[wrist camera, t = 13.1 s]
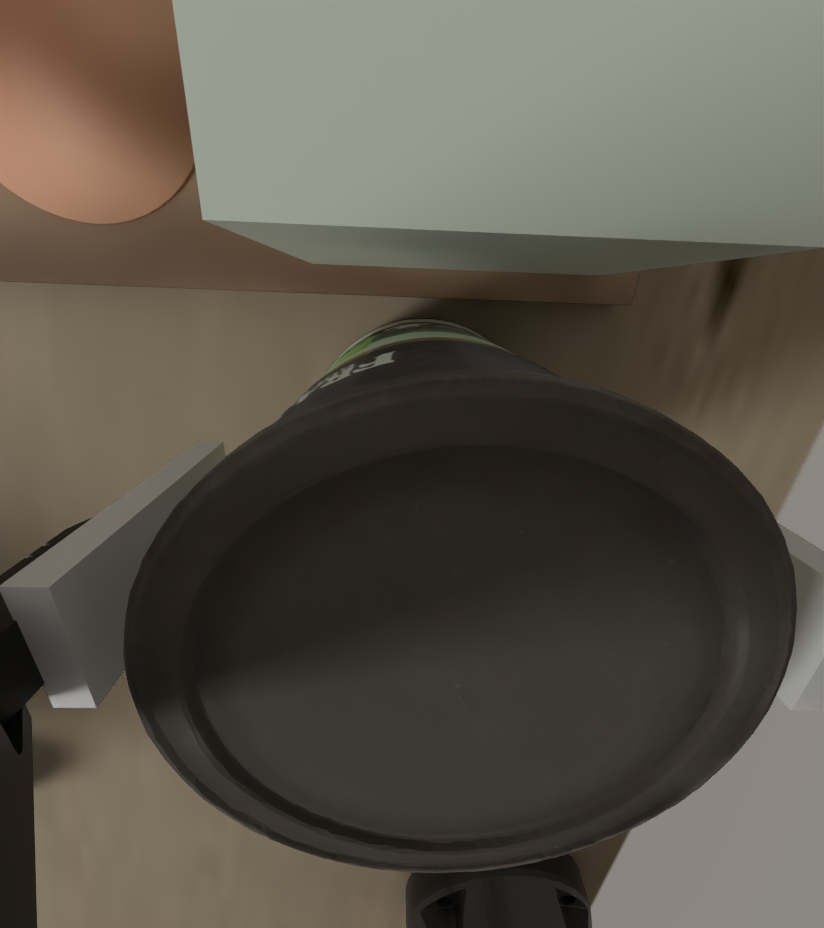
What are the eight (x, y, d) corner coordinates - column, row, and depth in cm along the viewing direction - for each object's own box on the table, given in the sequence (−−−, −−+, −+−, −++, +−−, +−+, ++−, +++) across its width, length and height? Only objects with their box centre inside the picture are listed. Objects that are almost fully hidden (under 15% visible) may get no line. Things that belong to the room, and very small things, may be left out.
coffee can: (272, 452, 20) (13, 758, 7) (400, 265, 17) (395, 139, 4) (437, 558, 22) (488, 930, 9) (573, 412, 19) (941, 653, 6)
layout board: (613, 304, 17) (634, 305, 16) (-38, 279, 16) (-85, 277, 15) (707, -148, 12) (751, -212, 11) (-213, -220, 12) (-310, -302, 10)
